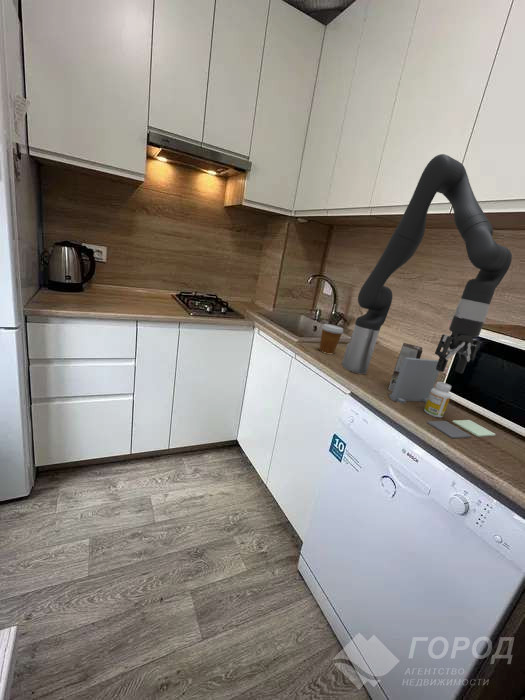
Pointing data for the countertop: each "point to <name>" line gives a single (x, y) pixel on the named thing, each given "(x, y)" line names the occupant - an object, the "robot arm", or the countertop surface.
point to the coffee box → (405, 352)
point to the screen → (415, 380)
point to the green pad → (473, 428)
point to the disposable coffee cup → (330, 337)
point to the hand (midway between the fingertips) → (449, 371)
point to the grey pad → (449, 429)
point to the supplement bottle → (438, 400)
